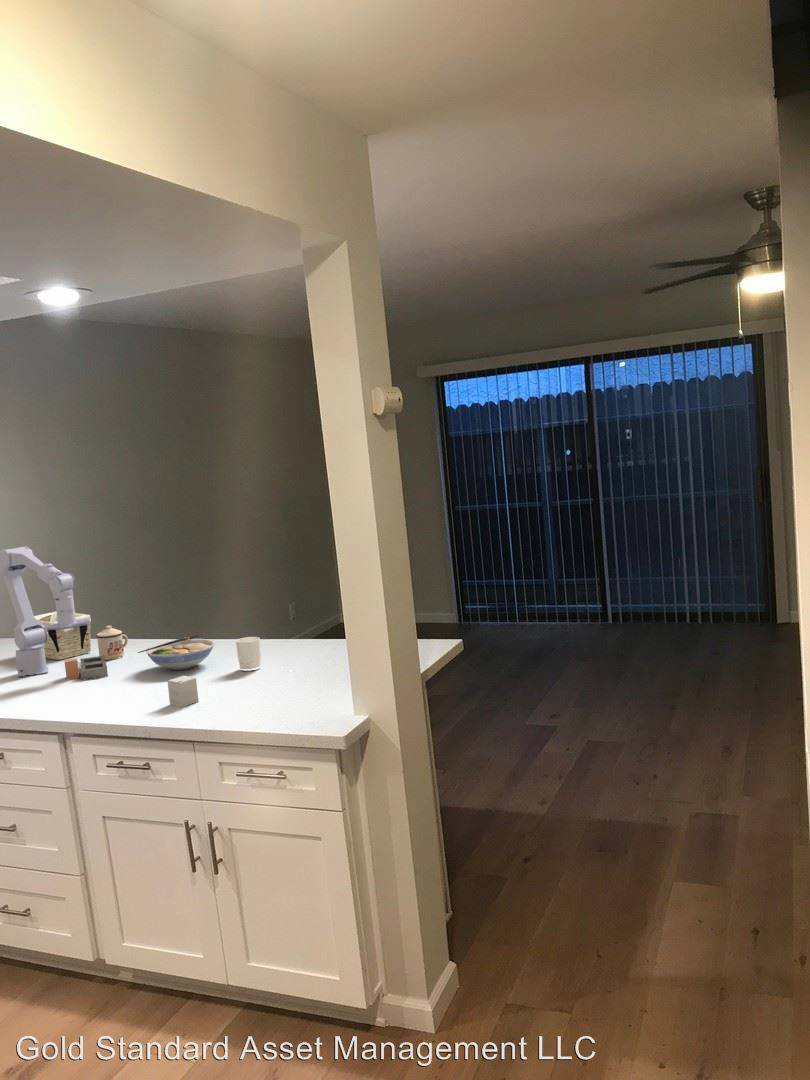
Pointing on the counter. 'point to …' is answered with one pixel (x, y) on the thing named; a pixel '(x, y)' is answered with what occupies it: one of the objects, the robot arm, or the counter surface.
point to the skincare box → (182, 691)
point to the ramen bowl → (180, 652)
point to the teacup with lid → (111, 643)
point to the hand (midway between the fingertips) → (70, 649)
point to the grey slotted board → (93, 667)
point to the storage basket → (65, 638)
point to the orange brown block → (71, 668)
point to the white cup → (248, 652)
